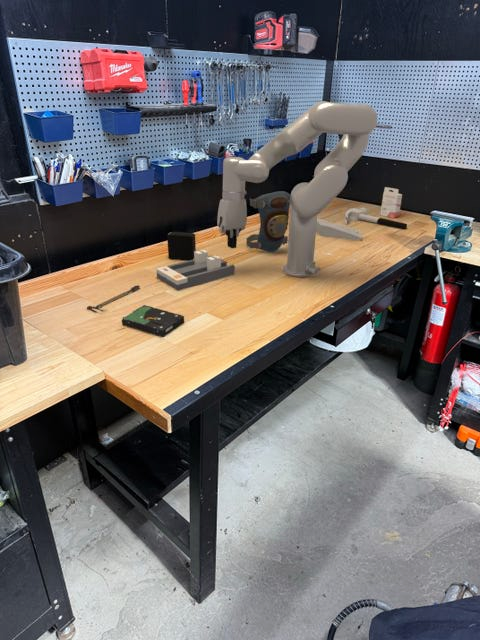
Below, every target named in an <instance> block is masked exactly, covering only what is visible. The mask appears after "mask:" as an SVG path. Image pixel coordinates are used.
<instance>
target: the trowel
mask: <svg viewBox="0 0 480 640" xmlns="http://www.w3.org/2000/svg"><path fill="white" fill-rule="evenodd" d="M316 231H317V232H316V234H318V235H319V236H320V237H327V238H336V239H343V240H352V241H357V242H358V241H359V242H362V241H363V237H362V234H361V232H360V230H359V229H356V228H353V227H350V226H347V225H343V224H339V223H334V222H330V221H327V220H324V219H322V218H318V217H317V227H316Z"/></svg>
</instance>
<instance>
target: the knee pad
mask: <svg viewBox="0 0 480 640" xmlns="http://www.w3.org/2000/svg"><path fill="white" fill-rule="evenodd" d="M290 196H291V193H289V192H286V191H284V190H283V191H282V190H280V191H274V192H271V193H266V194H265V193H264V194H261V195H260V196H258V197H255V198H253V199H252V198H251V197H250V198H249V206H251V207H253V209H258V215H259V219H260V220H259V222H260V223H259V224H260V226H259V231H258V233H257V234H256V233H254V234H251V235H249V236H248V237H246V241H245V242H246V246H247V247H248V248H249V249H256V250H261V251H263V252H267V253H274V252H277V251H278V250H280V248H281V247H282V245H284V246H285V244H287V245H288V240H289V235H288V236H285V235H286V232H287V230H288V227H289V226H288V225H289V220H290ZM254 241H255V242H254Z"/></svg>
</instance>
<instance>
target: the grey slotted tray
mask: <svg viewBox="0 0 480 640" xmlns="http://www.w3.org/2000/svg"><path fill="white" fill-rule="evenodd" d="M212 256H214V255H213V254H212ZM208 257H211V254H210V255H208ZM227 264H228V262H227V261H226V260H225V259H222V258H221V268H217V269H213V270H210V271H207V262H203V263H199V264H195V261H194V259H193V260H190V261H185V260H184V261H182V262H177V263H174V264H170V265H166V266H161V267H158V268H156V279H158V280H159V281H161V282H163V283H165V284H166V285H168V286H170V287H171V288H173V289H175V290H176V291H181V290H184V289H188V288H191V287H194V286H195V287H196V286H198V285H202V284H206V283H208V282H213V281H217V280H219V279H223V278H227V277H230V276H234V275H235V273H236V272H235V271H236V270H235V269H236V266H235V265H234V264H229V265H227Z"/></svg>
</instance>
